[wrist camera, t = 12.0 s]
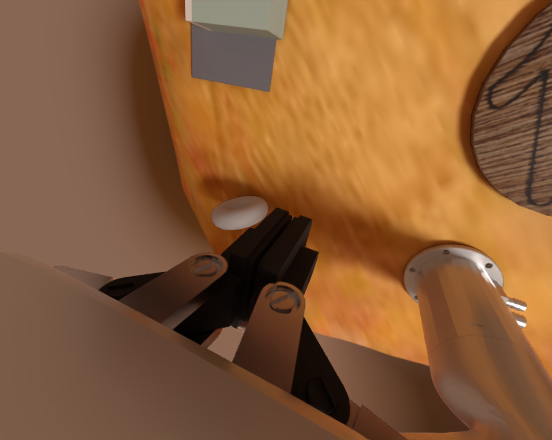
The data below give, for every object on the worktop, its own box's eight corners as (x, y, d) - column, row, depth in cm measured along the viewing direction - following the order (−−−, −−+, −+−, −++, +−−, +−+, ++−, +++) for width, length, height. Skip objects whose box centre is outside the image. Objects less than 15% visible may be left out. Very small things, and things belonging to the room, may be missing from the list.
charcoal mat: (291, -82, 28) (290, -85, 27) (269, 91, 37) (268, 91, 36) (192, -81, 31) (189, -83, 31) (194, 77, 40) (192, 77, 40)
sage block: (274, -27, 26) (184, -32, 29) (267, 30, 29) (185, 20, 32) (289, -9, 30) (209, -15, 33) (282, 39, 33) (208, 30, 36)
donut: (233, 210, 49) (202, 232, 40) (229, 194, 47) (196, 213, 39) (278, 210, 45) (254, 234, 36) (275, 192, 43) (249, 213, 35)
